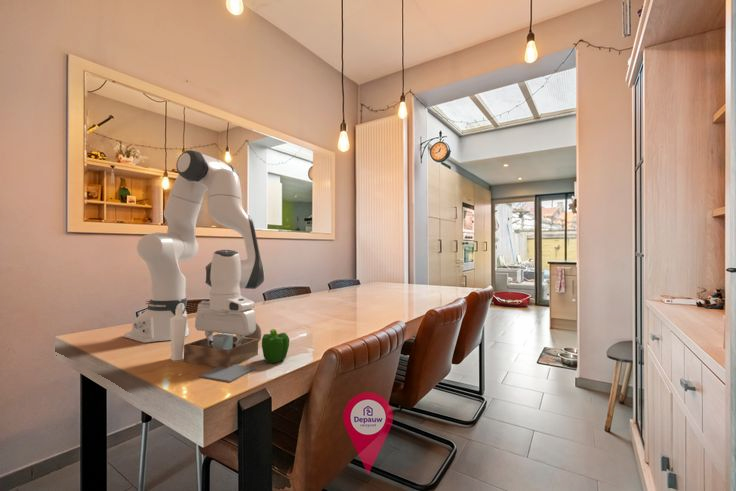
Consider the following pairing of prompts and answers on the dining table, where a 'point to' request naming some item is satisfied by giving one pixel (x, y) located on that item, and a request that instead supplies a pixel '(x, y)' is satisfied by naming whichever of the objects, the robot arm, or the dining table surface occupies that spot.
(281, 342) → the bell pepper
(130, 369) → the dining table surface
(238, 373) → the pad
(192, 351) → the walnut crate
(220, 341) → the block
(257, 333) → the vase
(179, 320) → the perfume bottle
